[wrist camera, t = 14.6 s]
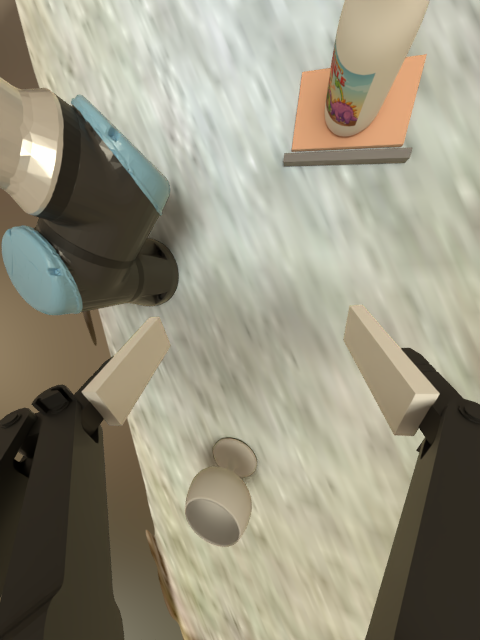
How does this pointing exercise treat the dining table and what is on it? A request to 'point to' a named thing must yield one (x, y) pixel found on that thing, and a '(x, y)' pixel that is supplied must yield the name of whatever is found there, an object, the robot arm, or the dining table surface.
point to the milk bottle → (368, 59)
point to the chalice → (222, 495)
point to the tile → (379, 133)
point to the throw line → (348, 157)
